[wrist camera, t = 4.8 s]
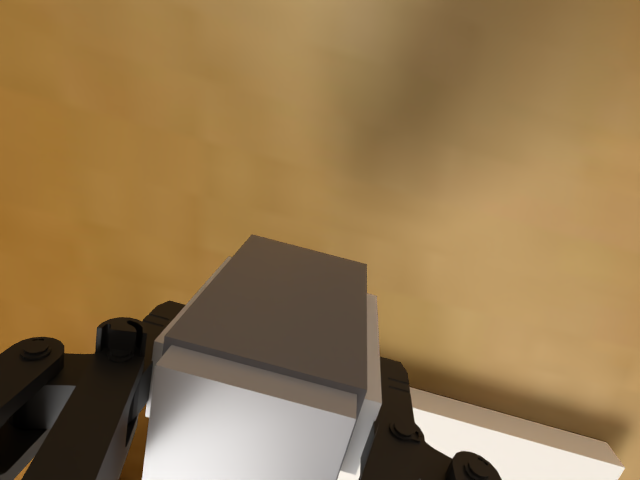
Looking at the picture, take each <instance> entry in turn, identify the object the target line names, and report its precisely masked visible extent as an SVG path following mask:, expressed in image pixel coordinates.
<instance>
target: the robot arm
mask: <svg viewBox="0 0 640 480" xmlns="http://www.w3.org/2000/svg"><path fill="white" fill-rule="evenodd" d="M231 258H232V257H230V256H229V257H228V258H227V259H226V260H225V261H224V262H223V263H222V265H221V266H220V267H219V268H218V269H217V270H216V271H215V273H214V274H213V275H212V276H211V277H210V278H209V279H208V280H207V282H206V283H205V284H204V285H203V286H202V287H201V288H200V290H199V291H198V292H197V293H196V294H195V295H194V296H193V297H192V299H191V300H190V301H189V302H188V303H187V304H186V305H184V304H180V303H176V302H173V301H167V302H165V303H163V304H160V305H158V306H157V307H156V308H155V309H153V310H152V311H151V312H150V313H149V315H147V316H146V317H145V318H144V319H143V321H139V320H137V319H133V318H124V317H119V318H114V319H109V320H107V321H105V322H103V323H101V324H100V325H99V326H98V327H97V336H96V352H95V354H65V353H64V345H63V344H62V343H61V341H59V340H56V339H54V338H49V337H35V338H29V339H26V340H22V341H20V342H18V343H16V344H14V345H12V346H11V347H10V348H8V349H7V350H5V351H4V352H3V353H1V354H0V480H14V478H15V477H16V476H17V475H18V474H19V473H20V472H21V471H22V470H23V469H24V467H25V466H26V465H27V464H28V463H29V462H30V461H31V460H32V459H33V458H34V459H33V461H32V462H31V464H30V466H29V467H28V469H27V471H26V473H25V474H24V476H23V478H22V479H21V480H119V477H120V474H121V472H122V469H123V466H124V463H125V460H126V457H127V454H128V451H129V448H130V445H131V442H132V439H133V436H134V434H135V431H136V428H137V422H138V414H139V413H140V411H141V410H142V409H143V407H144V406H145V404H146V403H147V405H146V413H145V417H149V416H150V407H151V399H152V390H153V382H154V374H155V365H156V364H157V362H158V361H159V360H160V359H161V357H162V352H163V344H164V336H165V335H166V333H167V332H168V331H169V330H170V329H171V328H172V326H173V325H174V324H175V323H176V322H177V321H178V320H179V318H180V317H181V316H182V315H183V314H184V313H185V311H186V310H187V309H188V308H189V307H190V306H191V304H192V303H193V302H194V301H195V300H196V299H197V298H198V296H199V295H200V294H201V293H202V292H203V291H204V289H205V288H206V287H207V286H208V285H209V284H210V282H211V281H212V280H213V279H214V278H215V277H216V276H217V274H218V273H219V272H220V271H221V270H222V269H223V267H224V266H225V265H226V264H227V263H228V262H229V260H230V259H231ZM359 465H360V477H359V479H358V480H502V479H501V477H500V475H499V473H498V471H497V470H496V469H495V468H494V467H493V465H492V464H491V463H490V462H489V461H487V460H486V459H484V458H483V457H482V456H480V455H477V454H475V453H473V452H468V451H461V452H457V453H456V454H455V455H454V457H453V458H450V457H448V456H447V455H445V454H443V453H441V452H439V451H437V450H436V449H434V448H433V447H431V446H430V445H429V444H428V443H426V442H425V438H424V434H423V432H422V431H421V429H420V427H419V426H418V425H417V424H416V423H415V421H414V414H413V407H412V400H411V394H410V387H409V380H408V373H407V371H406V370H405V368H404V367H403V365H402V364H401V362H398V361H394V360H390V359H387V358H383V357H380V353H379V332H378V312H377V296H375V295H372V294H368V293H367V393H366V396H365V399H364V402H363V404H362V407H361V410H360V413H359V416H358V419H357V422H356V425H355V428H354V431H353V434H352V437H351V440H350V443H349V446H348V449H347V452H346V455H345V458H344V461H343V464H342V467H341V470H340V471H343V472H346V473H350V474H354V475H356V473H357V470H358V468H359Z"/></svg>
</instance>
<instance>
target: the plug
mask: <svg viewBox="0 0 640 480" xmlns="http://www.w3.org/2000/svg"><path fill="white" fill-rule="evenodd" d="M366 393H367V264H364V263H360V262H356V261H352V260H348V259H344V258H341V257H337V256H333V255H329V254H325V253H321V252H317V251H314V250H310V249H306V248H302V247H298V246H294V245H291V244H287V243H283V242H279V241H275V240H271V239H268V238H264V237H260V236H256V235H251V236H250V237H249V238H248V240H247V241H246V242H245V243H244V244H243V245H242V247H241V248H240V249H239V250H238V251H237V252H236V254H235V255H234V256H233V257H232V258H231V259H230V260H229V262H228V263H227V264H226V265H225V266H224V267H223V269H222V270H221V271H220V272H219V273H218V274H217V276H216V277H215V278H214V279H213V280H212V281H211V282H210V284H209V285H208V286H207V287H206V288H205V289H204V291H203V292H202V293H201V294H200V295H199V296H198V298H197V299H196V300H195V301H194V302H193V303H192V304H191V306H190V307H189V308H188V309H187V310H186V311H185V313H184V314H183V315H182V316H181V317H180V318H179V320H178V321H177V322H176V323H175V324H174V325H173V326H172V328H171V329H170V330H169V331H168V332H167V333H166V335H165V336H164V344H163V352H162V357H161V359H160V360H159V361H158V362H157V364H156V365H155V374H154V382H153V390H152V399H151V407H150V416H149V424H148V433H147V441H146V450H145V458H144V466H143V475H142V480H337V479H338V476H339V473H340V470H341V467H342V464H343V461H344V458H345V455H346V452H347V449H348V446H349V443H350V440H351V437H352V434H353V431H354V428H355V425H356V422H357V419H358V416H359V413H360V410H361V407H362V404H363V402H364V399H365V396H366Z"/></svg>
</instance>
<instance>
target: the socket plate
mask: <svg viewBox="0 0 640 480" xmlns="http://www.w3.org/2000/svg"><path fill="white" fill-rule="evenodd" d="M410 394H411V400H412V407H413V414H414V421H415V423H416V424H417V425H418V426H419V427H420V429H421V431H422V432H423V434H424V438H425V442H426V443H428V444H429V445H430V446H431V447H433V448H434V449H436V450H437V451H439V452H441V453H443V454H445V455H447V456H448V457H450V458H453V457H454V455H455V454H456V453H457V452H461V451H468V452H473V453H475V454H477V455H480V456H482V457H483V458H484V459H486V460H487V461H489V462H490V463H491V464H492V465H493V467H494V468H495V469H496V470H497V471H498V473H499V475H500V477H501V479H502V480H618V478H619V477H620V475H621V474H622V472H623V470H624V469H625V467H624V465H623V464H622V463H621V461H620V460H619V459H618V457H617V456H616V454H615V453H614V452H613V450H612V449H611V448H610V446H609V445H608V443H607V442H603V441H600V440H596V439H593V438H589V437H586V436H582V435H579V434H575V433H571V432H568V431H564V430H561V429H557V428H554V427H550V426H547V425H543V424H539V423H536V422H532V421H529V420H525V419H522V418H518V417H515V416H511V415H507V414H504V413H500V412H497V411H493V410H490V409H486V408H483V407H479V406H475V405H472V404H468V403H465V402H461V401H458V400H454V399H451V398H447V397H443V396H440V395H436V394H433V393H429V392H426V391H422V390H419V389H415V388H411V387H410ZM359 477H360V465H359V468H358V470H357V473H356V475H354V474H350V473H346V472H343V471H340V473H339V476H338V479H337V480H358V479H359Z"/></svg>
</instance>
